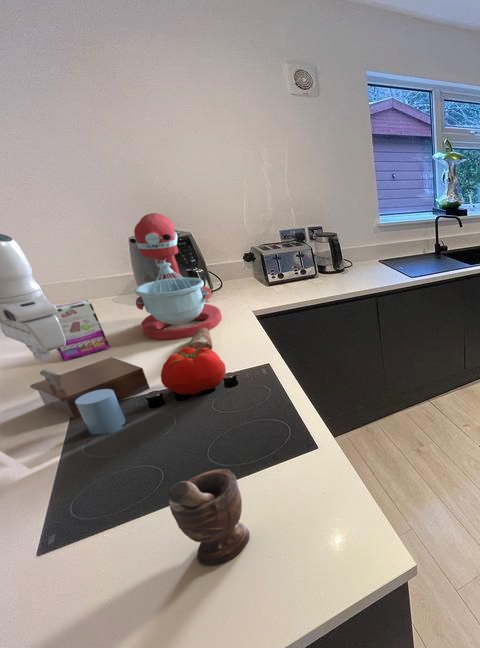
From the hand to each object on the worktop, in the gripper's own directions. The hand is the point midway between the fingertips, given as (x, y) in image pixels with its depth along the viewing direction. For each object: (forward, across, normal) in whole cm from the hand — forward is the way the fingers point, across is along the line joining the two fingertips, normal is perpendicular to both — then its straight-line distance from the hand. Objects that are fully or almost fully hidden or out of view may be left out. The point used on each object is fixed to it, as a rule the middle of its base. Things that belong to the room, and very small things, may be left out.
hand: (44, 358), depth 95 cm
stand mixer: (+15, -33, +46) cm, 59 cm away
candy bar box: (+15, -36, +18) cm, 43 cm away
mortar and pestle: (+15, +74, -10) cm, 76 cm away
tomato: (+15, +18, +20) cm, 31 cm away
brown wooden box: (+15, 0, +6) cm, 16 cm away
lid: (+9, 0, +6) cm, 10 cm away
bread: (+15, -8, +36) cm, 40 cm away
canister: (+15, +17, 0) cm, 23 cm away
